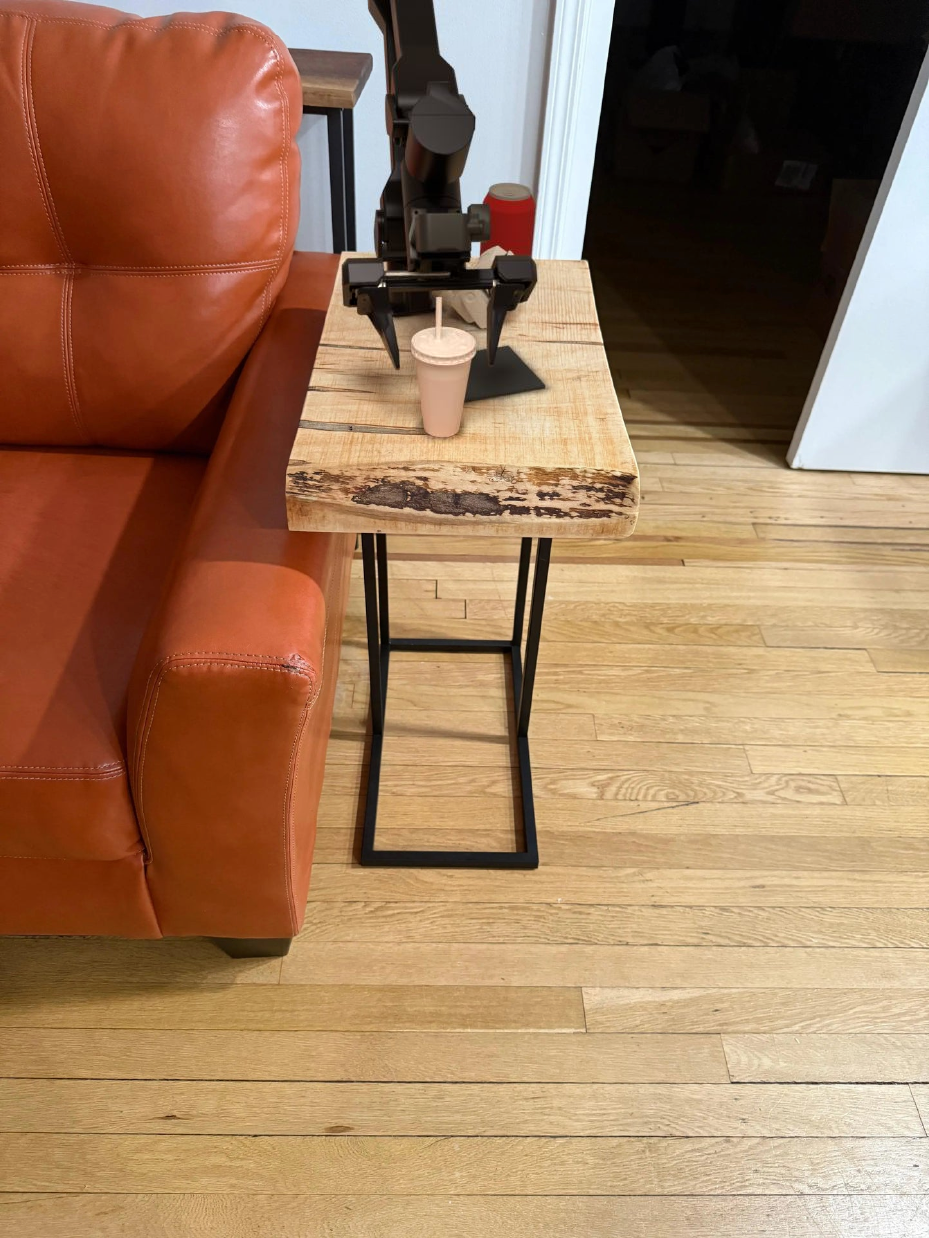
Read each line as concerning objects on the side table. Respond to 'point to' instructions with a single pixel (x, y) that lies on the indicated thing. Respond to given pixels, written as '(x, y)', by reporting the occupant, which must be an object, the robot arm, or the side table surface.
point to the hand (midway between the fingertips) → (444, 367)
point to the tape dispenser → (476, 292)
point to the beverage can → (510, 218)
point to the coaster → (499, 376)
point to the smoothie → (442, 374)
